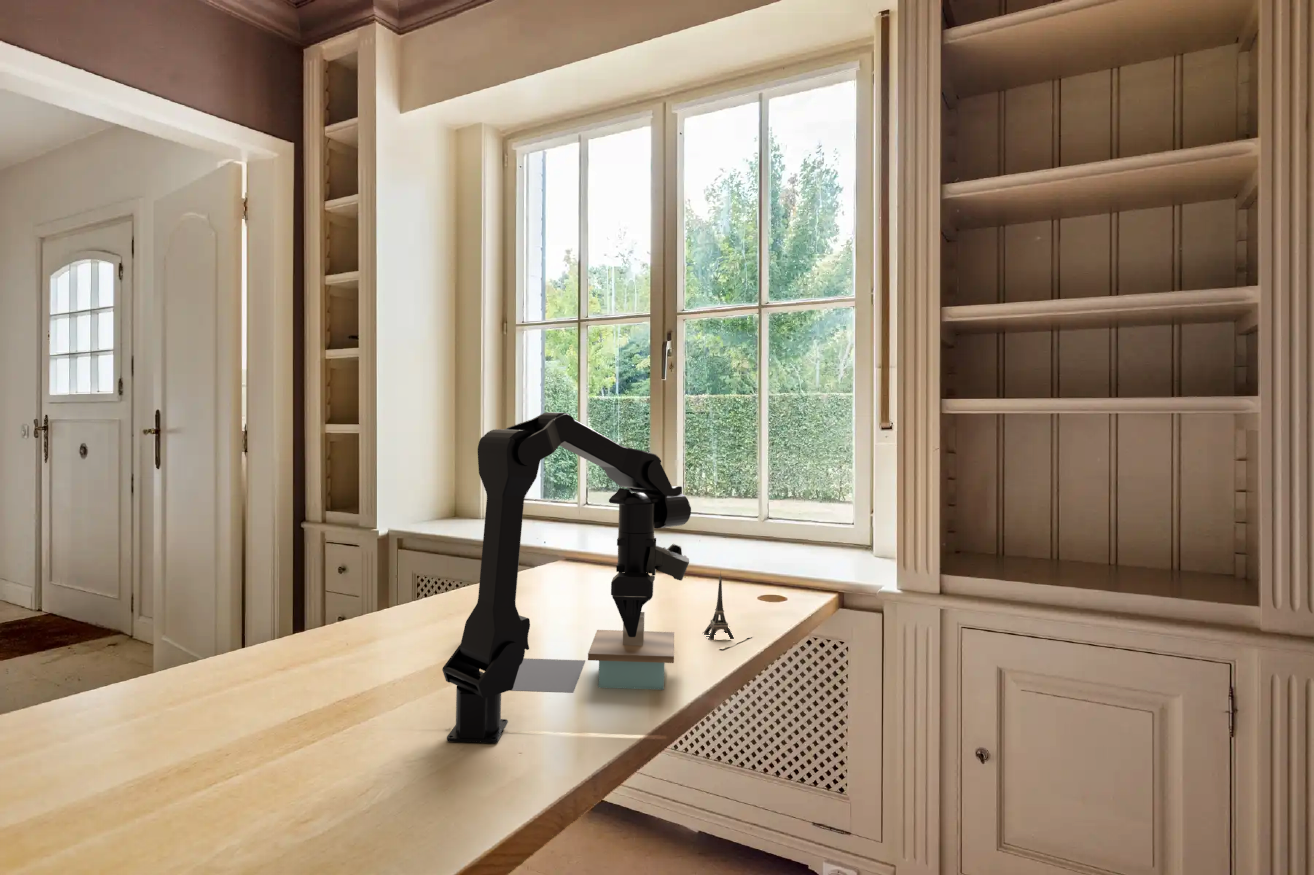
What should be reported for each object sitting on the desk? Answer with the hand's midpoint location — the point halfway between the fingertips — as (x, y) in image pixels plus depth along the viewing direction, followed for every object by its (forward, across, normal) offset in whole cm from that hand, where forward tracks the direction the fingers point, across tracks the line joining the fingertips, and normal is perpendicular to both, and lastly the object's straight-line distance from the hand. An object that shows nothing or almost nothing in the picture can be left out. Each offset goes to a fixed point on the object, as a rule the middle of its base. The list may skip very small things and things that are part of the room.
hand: (633, 628), depth 118 cm
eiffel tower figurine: (+9, +25, -16) cm, 31 cm away
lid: (+3, 0, 0) cm, 3 cm away
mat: (+8, 0, +16) cm, 18 cm away
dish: (+8, 0, 0) cm, 8 cm away
